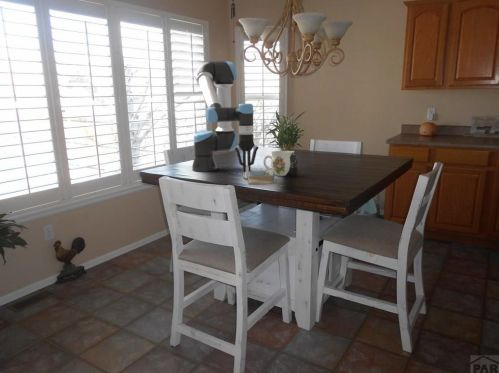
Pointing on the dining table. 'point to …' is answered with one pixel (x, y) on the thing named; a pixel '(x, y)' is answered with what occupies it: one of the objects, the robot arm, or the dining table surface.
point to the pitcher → (279, 162)
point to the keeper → (256, 172)
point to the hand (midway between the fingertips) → (246, 177)
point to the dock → (260, 178)
